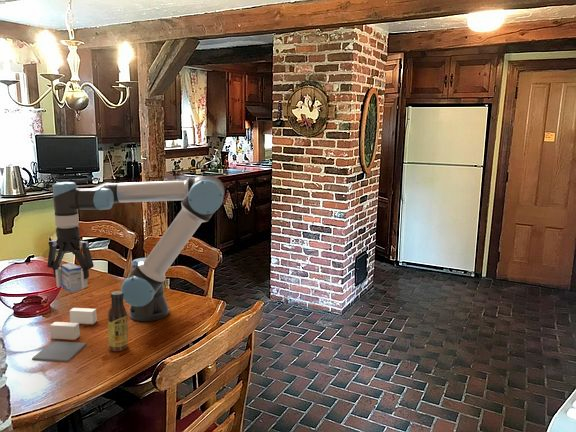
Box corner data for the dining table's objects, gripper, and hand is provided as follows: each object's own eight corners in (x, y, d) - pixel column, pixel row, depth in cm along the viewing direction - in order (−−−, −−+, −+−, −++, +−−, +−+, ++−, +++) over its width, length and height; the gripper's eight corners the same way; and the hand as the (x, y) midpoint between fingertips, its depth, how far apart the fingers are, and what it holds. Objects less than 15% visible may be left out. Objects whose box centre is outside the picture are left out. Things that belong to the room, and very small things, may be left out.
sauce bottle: (116, 354, 157) (113, 298, 153) (104, 349, 160) (101, 293, 156) (132, 346, 163) (130, 292, 159) (120, 341, 166) (117, 288, 162)
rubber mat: (86, 344, 163) (86, 343, 163) (68, 361, 151) (67, 360, 151) (53, 342, 164) (52, 341, 164) (32, 359, 152) (32, 358, 152)
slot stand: (96, 321, 182) (96, 308, 181) (75, 339, 167) (74, 326, 166) (74, 319, 183) (73, 307, 182) (51, 338, 167) (49, 325, 166)
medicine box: (61, 287, 173) (59, 264, 171) (73, 284, 176) (72, 262, 174) (70, 293, 167) (68, 269, 166) (83, 290, 170) (81, 267, 169)
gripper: (101, 224, 170) (105, 284, 174) (44, 222, 171) (49, 281, 176) (91, 229, 162) (95, 291, 167) (32, 227, 164) (37, 288, 168)
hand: (72, 286), depth 171 cm, fingers closed on medicine box, 9 cm apart
